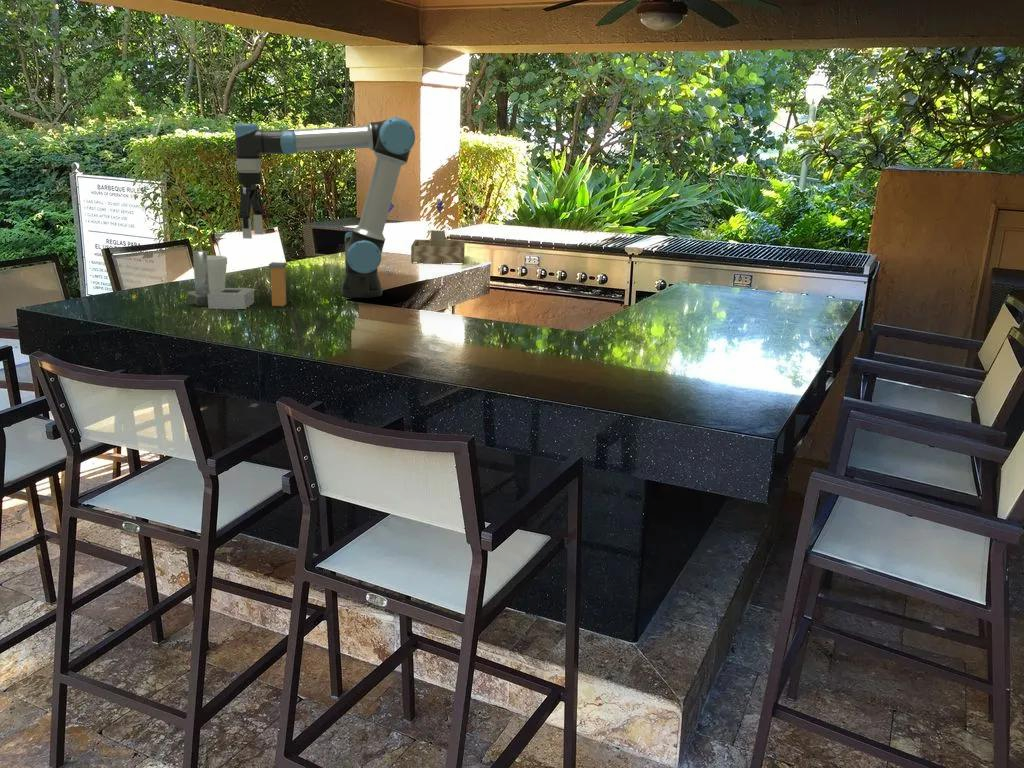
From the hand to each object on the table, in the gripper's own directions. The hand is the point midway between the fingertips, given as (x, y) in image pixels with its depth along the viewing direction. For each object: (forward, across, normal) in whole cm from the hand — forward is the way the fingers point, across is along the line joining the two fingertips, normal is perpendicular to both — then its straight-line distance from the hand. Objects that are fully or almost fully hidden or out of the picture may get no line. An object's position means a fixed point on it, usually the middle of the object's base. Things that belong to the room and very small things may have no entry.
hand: (253, 236), depth 291 cm
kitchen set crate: (+24, -119, +54) cm, 133 cm away
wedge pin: (+23, +4, +9) cm, 25 cm away
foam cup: (+23, -13, -19) cm, 32 cm away
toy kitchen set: (+24, -119, +55) cm, 134 cm away
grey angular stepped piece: (+22, +3, -11) cm, 25 cm away
